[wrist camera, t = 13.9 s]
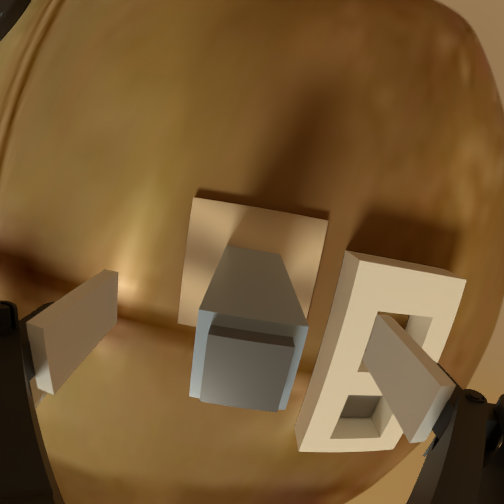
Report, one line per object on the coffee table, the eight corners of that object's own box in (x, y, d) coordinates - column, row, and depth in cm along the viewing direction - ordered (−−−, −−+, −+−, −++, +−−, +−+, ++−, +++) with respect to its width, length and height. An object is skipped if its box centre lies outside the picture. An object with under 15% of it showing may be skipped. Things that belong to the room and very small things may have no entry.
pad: (194, 197, 23) (193, 197, 23) (326, 220, 23) (328, 220, 23) (179, 320, 25) (177, 323, 25) (299, 339, 25) (300, 342, 25)
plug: (226, 245, 23) (194, 318, 10) (280, 254, 23) (312, 336, 10) (218, 296, 24) (186, 408, 11) (270, 304, 24) (286, 422, 11)
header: (345, 250, 24) (359, 260, 21) (444, 269, 24) (466, 279, 21) (294, 427, 28) (298, 451, 24) (383, 428, 28) (393, 449, 24)
